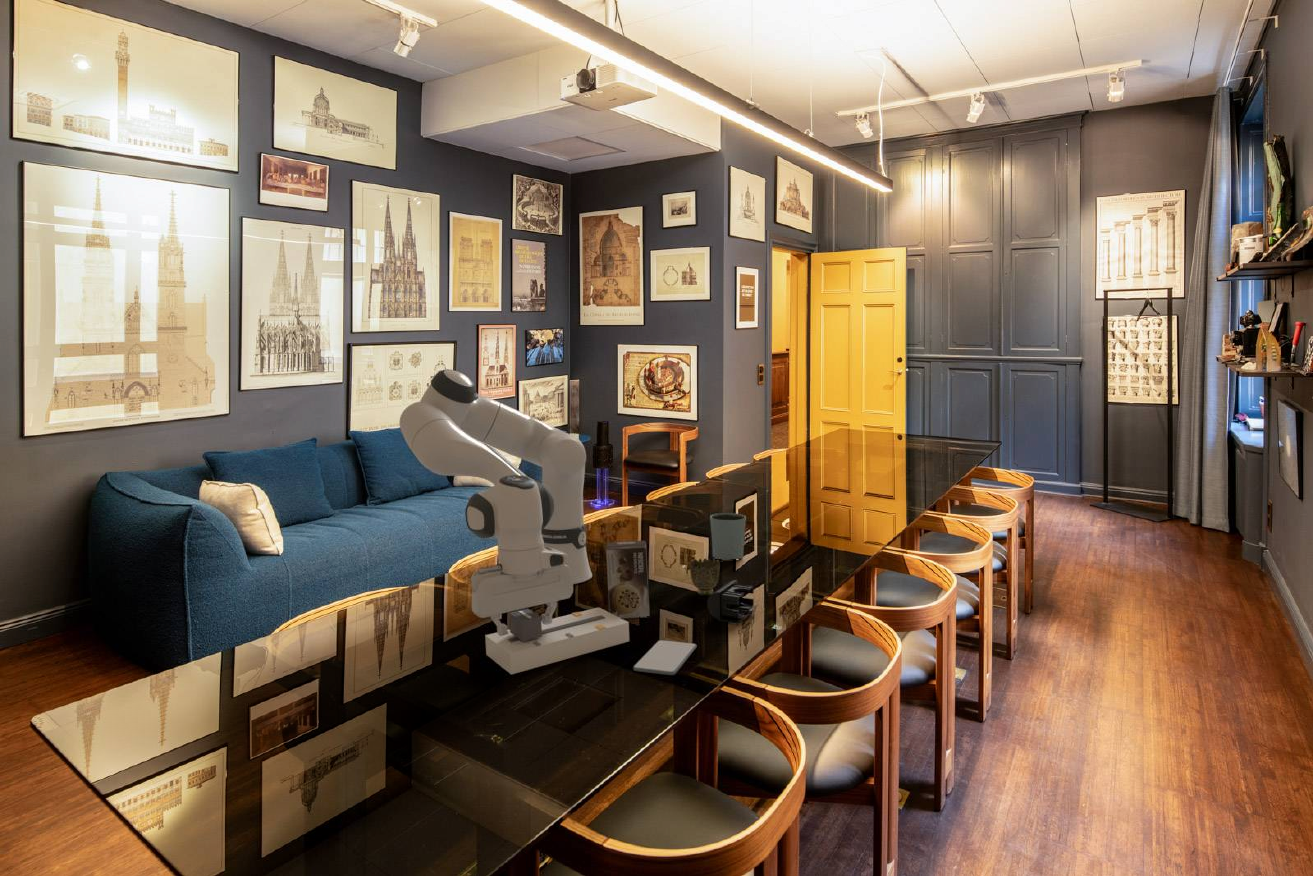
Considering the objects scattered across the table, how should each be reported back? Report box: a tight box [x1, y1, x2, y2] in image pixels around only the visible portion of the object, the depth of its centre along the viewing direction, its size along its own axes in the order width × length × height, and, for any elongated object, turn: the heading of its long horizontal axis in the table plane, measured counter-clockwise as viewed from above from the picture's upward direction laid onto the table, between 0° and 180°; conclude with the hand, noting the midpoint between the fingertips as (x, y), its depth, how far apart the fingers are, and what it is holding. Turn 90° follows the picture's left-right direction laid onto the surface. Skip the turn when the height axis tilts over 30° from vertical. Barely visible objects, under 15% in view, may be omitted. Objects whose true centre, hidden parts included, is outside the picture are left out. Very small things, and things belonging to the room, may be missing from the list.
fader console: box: [484, 607, 630, 675], centre depth 153 cm, size 26×12×4 cm, turn 124°
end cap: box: [707, 579, 755, 624], centre depth 169 cm, size 10×7×7 cm
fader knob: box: [508, 608, 542, 641], centre depth 149 cm, size 4×6×4 cm, turn 34°
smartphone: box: [632, 639, 698, 676], centre depth 147 cm, size 8×1×15 cm
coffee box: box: [605, 540, 650, 619], centre depth 171 cm, size 9×6×16 cm
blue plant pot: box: [709, 512, 747, 560], centre depth 216 cm, size 10×10×12 cm
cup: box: [689, 558, 721, 596], centre depth 184 cm, size 8×7×8 cm
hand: (525, 628), depth 149 cm, fingers open, 8 cm apart
